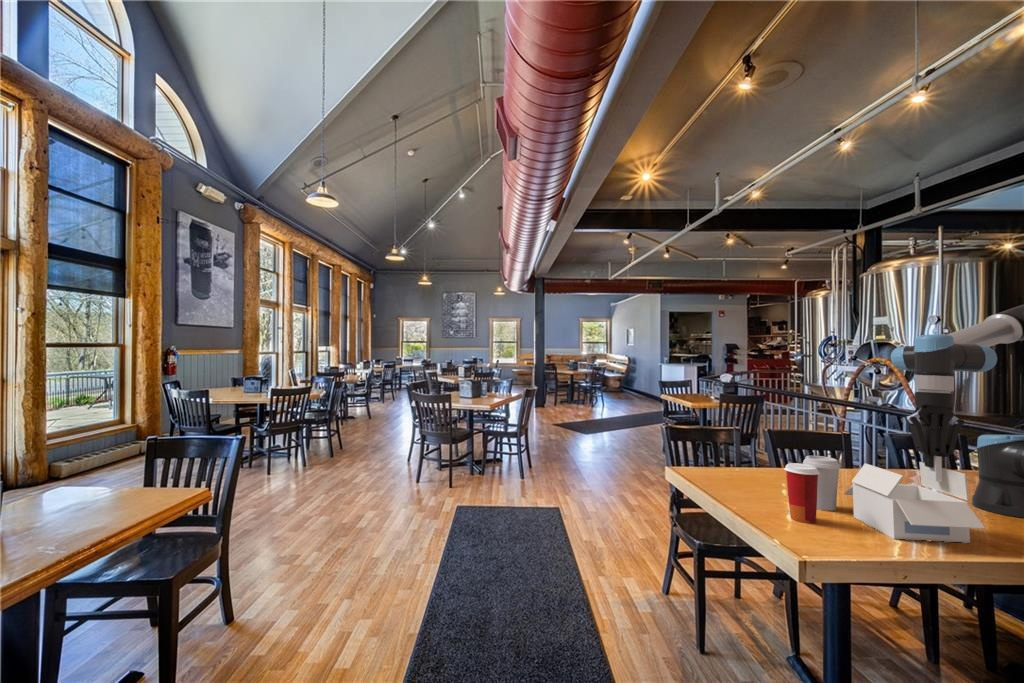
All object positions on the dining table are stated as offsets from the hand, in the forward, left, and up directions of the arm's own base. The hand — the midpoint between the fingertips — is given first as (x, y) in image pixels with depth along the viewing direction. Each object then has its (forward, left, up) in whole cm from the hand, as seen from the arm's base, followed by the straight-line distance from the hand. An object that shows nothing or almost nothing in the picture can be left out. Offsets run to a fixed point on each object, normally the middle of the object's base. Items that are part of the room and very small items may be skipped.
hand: (934, 480), depth 112 cm
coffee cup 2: (+19, -16, -14) cm, 28 cm away
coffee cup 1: (+31, -4, -14) cm, 34 cm away
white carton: (+7, 0, -13) cm, 15 cm away
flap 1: (+14, 0, 0) cm, 14 cm away
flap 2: (-2, 0, 0) cm, 2 cm away
